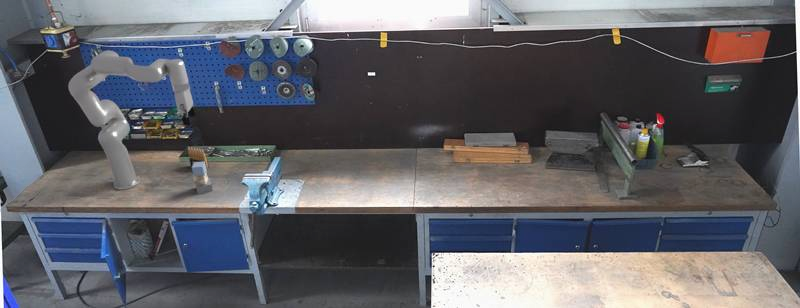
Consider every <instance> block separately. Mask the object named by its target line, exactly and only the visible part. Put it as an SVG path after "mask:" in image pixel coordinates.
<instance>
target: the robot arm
mask: <svg viewBox="0 0 800 308" xmlns="http://www.w3.org/2000/svg"><path fill="white" fill-rule="evenodd" d="M108 76H122V77H129V78H130V79H132V80H134V81H136V82H140V83H158V82H160V81H162V80H163V79H164V78H165V77H166V76H168V77H169V80H170V83H171V87H172V88H171V89H172V90H173V91H172V92H173V93H174V100H175V104H176V109H177V113H179V115H180V118H181V121H182V124H183V126H190V125H191V119H190V117H196V116H197V114H196V110H195V105H194V100H193V96H192V93H191V86H190V82H189V77H188V72H187V68H186V66H185V62H184V60H182V59H181V58H174V59H167V58H158V59H155V60H154V62H151V64H149V65H147V66H146V65H137V64H134V62H133V59H131V57H129V56H120V55H119V53H117V52H115V51H113V50H109V49H108V50H103V51H102V52H100V53H99V54H97V55H95V56H94V57H93V58H92V60H91V62H90V64H89V66H87V67H85V68H84V69H82V70H81V71H79V72H77V73H76V74H75V75H73V77H71V79H70V80H69V82H68V91H69V93H70V95H71V96H72V97H73V98H74V100H75V101H76V102H77V104H78V106H79V107H80V109H81V110H82V111H83V114H85V116H86V118H87V119H88V121H89V122H90V123H91V124H92V125H93V126H94V127H96V128H99V127H103V126H105V125H106V124H107V125H106V126H105V127H103V128H102V129H101V130H100V131H99V133H98V137H97V139H98V142H99V144H100V146H101V147H102V150H103V151H104V154H105V156H106V159H107V160H108V161H107V162H108V164H109V166H110V170H111V172H112V176H107V178H106V180H107V183H112V184H113V185H112V186H113V188H114V189H116V190H118V191H119V190H121V191H122V190H123V191H124V190H128V189H132V188H134V187H136V186H137V185H138V184H140V182H141V177H140V176H139V175H136V172H135V169H134V166H133V163H132V160H131V156H130V154H129V152H128V149H127V147H126V146H125V145H124V144H123V139H125V138H126V136H127V135H129V133H130V130H131V127H130V123H129V122H128V120H127V118H126V117H125V116H124V114H123V112H122V111H121V109H120V108H119V106H118V105H117V104H116V103H115V102H114V101H112V100H111V99H101V100H100V98H99V97H98V96H97V94H96V93H94V91H92V90H91V89H92V88H94V87H96V86H98V85H99V84H100V83H101V82H103V81H104V80H105V79H106V78H107V77H108Z"/></svg>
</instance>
